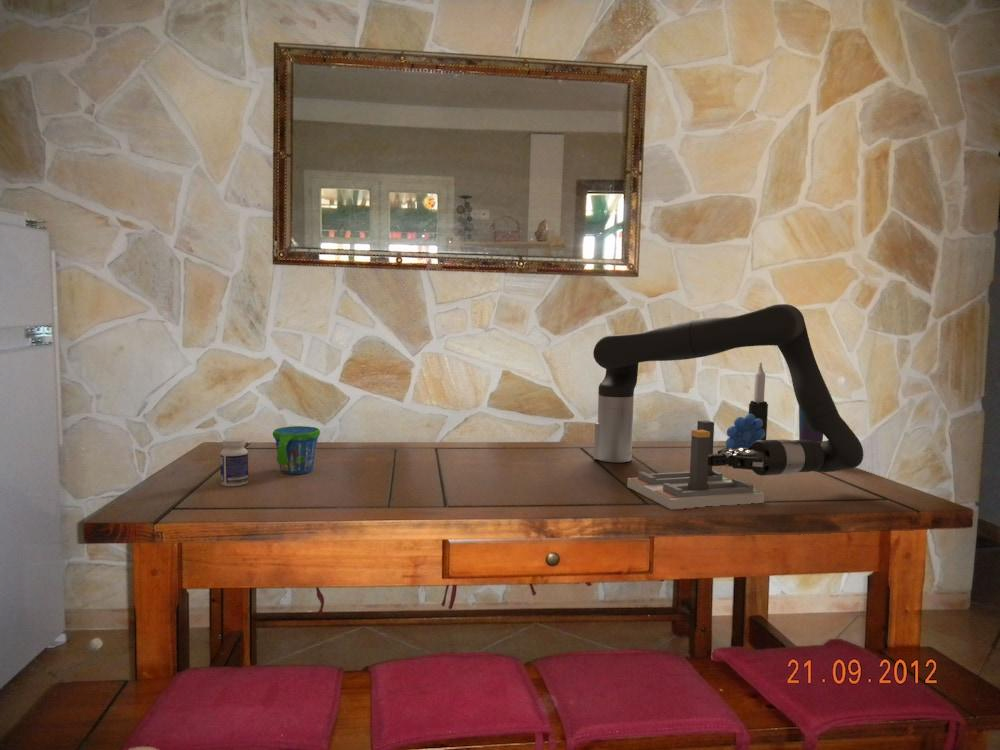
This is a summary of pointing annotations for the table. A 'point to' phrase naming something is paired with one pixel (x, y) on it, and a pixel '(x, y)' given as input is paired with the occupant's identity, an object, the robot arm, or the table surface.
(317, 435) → the snack cup
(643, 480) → the panel
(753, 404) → the candle
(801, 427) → the cup
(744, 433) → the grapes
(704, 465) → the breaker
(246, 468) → the pill bottle
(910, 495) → the table surface
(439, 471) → the table surface
